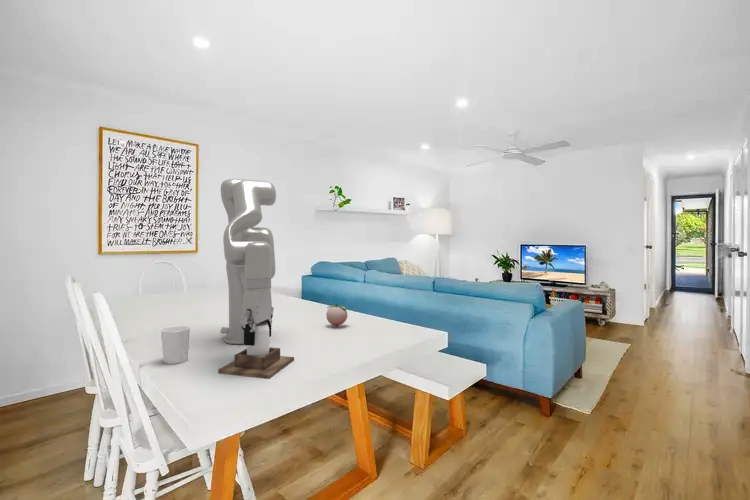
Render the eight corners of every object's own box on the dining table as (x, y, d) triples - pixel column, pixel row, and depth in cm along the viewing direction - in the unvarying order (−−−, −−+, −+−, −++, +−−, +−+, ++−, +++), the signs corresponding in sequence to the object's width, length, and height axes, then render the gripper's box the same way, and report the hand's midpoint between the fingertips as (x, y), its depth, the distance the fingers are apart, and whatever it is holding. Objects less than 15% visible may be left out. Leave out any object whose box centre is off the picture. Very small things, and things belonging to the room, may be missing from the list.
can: (262, 367, 113) (263, 326, 113) (242, 365, 115) (242, 325, 114) (272, 360, 120) (273, 321, 119) (253, 358, 121) (253, 320, 120)
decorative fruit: (323, 328, 164) (323, 305, 163) (328, 324, 172) (328, 301, 171) (344, 329, 162) (345, 306, 162) (349, 325, 170) (349, 302, 170)
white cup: (170, 366, 116) (170, 333, 115) (156, 361, 120) (155, 329, 119) (195, 359, 122) (195, 328, 122) (180, 355, 127) (180, 324, 126)
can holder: (218, 373, 111) (218, 357, 111) (248, 355, 127) (248, 342, 126) (269, 378, 107) (269, 362, 107) (294, 360, 123) (294, 346, 123)
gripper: (261, 280, 125) (261, 332, 126) (229, 287, 108) (230, 347, 109) (282, 281, 124) (282, 334, 124) (254, 288, 107) (254, 350, 107)
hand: (258, 340), depth 117 cm, fingers open, 9 cm apart
